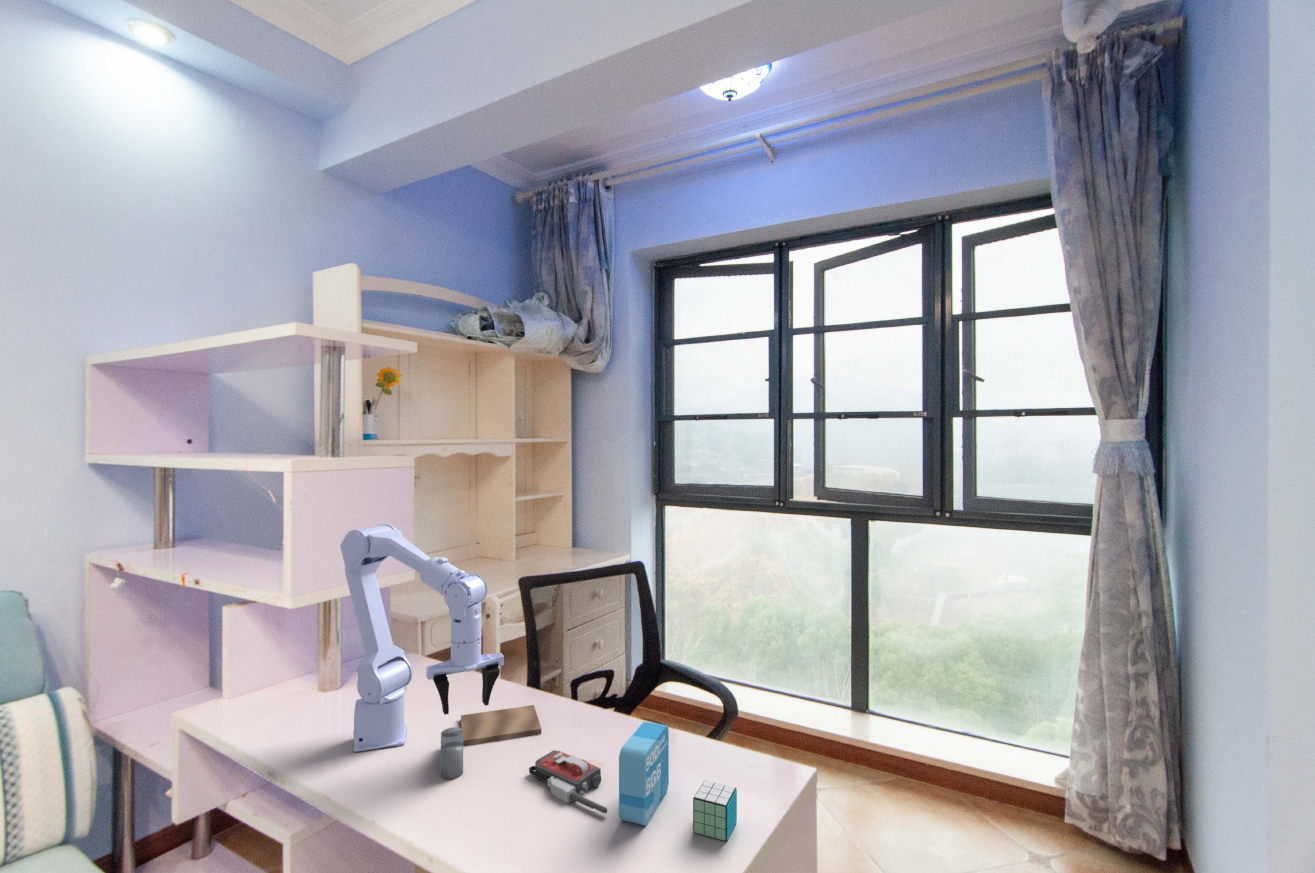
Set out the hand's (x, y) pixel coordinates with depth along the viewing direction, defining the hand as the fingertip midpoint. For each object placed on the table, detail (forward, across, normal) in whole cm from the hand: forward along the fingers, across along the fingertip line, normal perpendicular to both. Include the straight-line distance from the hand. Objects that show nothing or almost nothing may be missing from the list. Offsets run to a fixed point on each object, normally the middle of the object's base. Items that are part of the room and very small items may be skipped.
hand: (465, 707), depth 118 cm
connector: (+9, -3, -1) cm, 10 cm away
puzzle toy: (+10, +30, -42) cm, 53 cm away
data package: (+10, +22, -32) cm, 40 cm away
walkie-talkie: (+10, +14, -21) cm, 27 cm away
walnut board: (+10, +9, +9) cm, 16 cm away
